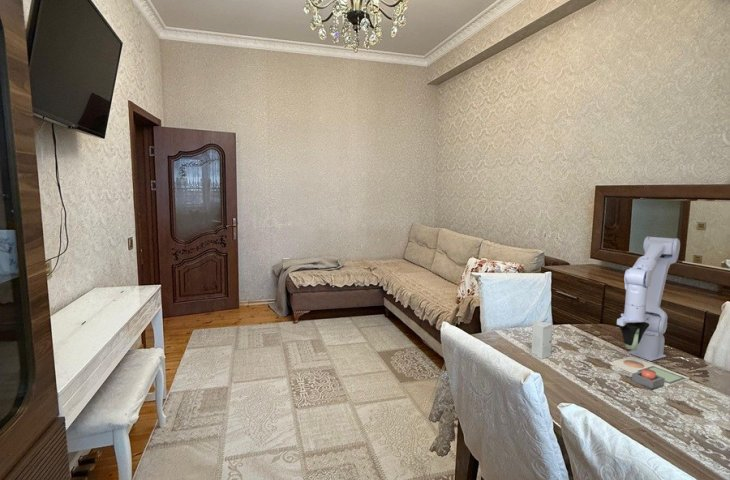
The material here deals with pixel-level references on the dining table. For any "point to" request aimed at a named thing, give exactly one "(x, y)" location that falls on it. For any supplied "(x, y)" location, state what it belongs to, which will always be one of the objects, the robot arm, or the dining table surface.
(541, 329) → the skincare box
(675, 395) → the dining table surface
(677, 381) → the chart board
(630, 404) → the dining table surface
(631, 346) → the green cup
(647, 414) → the dining table surface
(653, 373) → the button
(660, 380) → the button housing
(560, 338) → the dining table surface
